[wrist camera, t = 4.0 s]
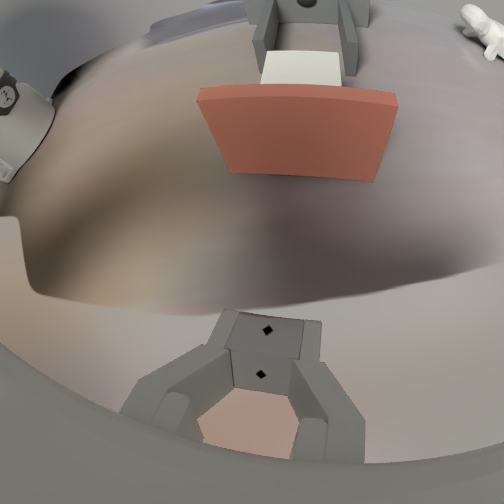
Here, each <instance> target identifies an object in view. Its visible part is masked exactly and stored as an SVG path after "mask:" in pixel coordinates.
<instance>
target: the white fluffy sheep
mask: <svg viewBox="0 0 504 504" xmlns="http://www.w3.org/2000/svg"><path fill="white" fill-rule="evenodd" d="M460 16H461V18H462V19H463V21H464V22H465V24H466V25H467V26H468V27H469V28H466V29H464V30H463V31H462V32H463V34H464V35H465V36H467V37H473V36H475V37H478V38H479V39H480V41H481V42H482V43H483V44H484V45H485V46H486V47H487V49H486V51H485V52H484V57H485V58H486V59H487V60H488V61H493V60H494V59H495V58H496V56H497V55H499V56H501V57H502V58H504V26H503V25H502V24H500V23H498V22H496V21H494V20H492V19H490V18H488V17H487V16H486V14H485V13H484V12H483V11H482V10H481V9H480V8H478V7H477V6H475V5H472V4H467V5H464V7H463V8H462V9H461V13H460Z"/></svg>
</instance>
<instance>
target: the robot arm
mask: <svg viewBox="0 0 504 504" xmlns="http://www.w3.org/2000/svg"><path fill="white" fill-rule="evenodd" d="M54 113H55V110H54V107H53V106H52V99H51V98H50V97H47V98H46V99H45V98H44V97H42V96H41V95H40V94H39V93H37V92H36V91H35V90H34V89H33V88H31V87H30V86H29V85H28V84H26V83H21V84H18V83H16V79H15V78H14V77H13V76H12V74H11V73H9V72H7V71H6V70H4V71H3V70H2V69H1V68H0V181H3V182H6V183H9V182H10V181H11V179H12V178H13V177H14V175H15V174H16V172H17V170H18V169H19V168H20V167H21V166H22V165H23V164H24V163H25V162H26V160H27V159H28V158H29V157H30V156H31V155H32V153H33V152H34V151H35V149H36V148H37V147H38V145H39V144H40V142H41V141H42V139H43V138H44V136H45V134H46V133H47V131H48V129H49V127H50V125H51V123H52V120H53V117H54ZM321 327H322V323H321V321H314V320H305V321H304V320H300V319H291V318H282V317H273V316H266V315H259V314H253V313H247V312H239V311H233V310H227V309H225V310H224V311H223V312H222V313H221V315H220V318H219V320H218V322H217V324H216V326H215V328H214V330H213V332H212V334H211V336H210V338H209V340H208V342H207V344H206V345H203V344H201V345H200V346H198V347H196V348H194V349H193V350H191V351H189V352H187V353H186V354H184V355H182V356H180V357H179V358H177V359H175V360H173V361H172V362H170V363H168V364H166V365H164V366H163V367H161V368H159V369H157V370H155V371H154V372H152V373H150V374H148V375H146V376H144V377H142V378H141V379H139V380H138V382H137V383H136V385H135V387H134V388H133V390H132V392H131V393H130V395H129V397H128V398H127V400H126V401H125V403H124V405H123V406H122V408H121V410H120V411H119V413H117V412H115V411H113V410H110V409H108V408H106V407H104V406H102V405H100V404H98V403H96V402H94V401H91V400H90V399H88V398H86V397H84V396H82V395H80V394H78V393H76V392H74V391H73V390H71V389H69V388H67V387H65V386H64V385H62V384H60V383H59V382H57V381H55V380H53V379H52V378H50V377H49V376H47V375H45V374H44V373H42V372H41V371H39V370H37V369H36V368H34V367H33V366H31V365H30V364H28V363H27V362H26V361H24V360H23V359H21V358H20V357H18V356H17V355H16V354H14V353H13V352H11V351H10V350H9V349H7V348H6V347H5V346H3V345H2V344H1V343H0V504H504V442H502V443H499V444H495V445H492V446H488V447H485V448H481V449H477V450H473V451H468V452H464V453H459V454H454V455H448V456H443V457H437V458H430V459H422V460H414V461H405V462H404V461H403V462H390V463H364V456H365V419H364V418H363V416H362V415H361V414H360V412H359V411H358V409H357V408H356V407H355V405H354V404H353V402H352V401H351V400H350V398H349V397H348V395H347V394H346V392H345V391H344V390H343V389H342V387H341V385H340V384H339V383H338V381H337V380H336V378H335V377H334V376H333V374H332V373H331V371H330V370H329V369H328V367H327V366H326V364H325V363H324V362H319V357H320V342H321ZM301 341H302V342H301ZM234 387H235V388H241V389H247V390H254V391H261V392H266V393H272V394H279V395H285V396H288V399H289V401H290V403H291V405H292V407H293V410H294V412H295V414H296V416H297V418H298V420H299V426H298V429H297V433H296V436H295V440H294V443H293V447H292V450H291V453H290V457H289V459H282V458H274V457H268V456H261V455H255V454H250V453H245V452H240V451H235V450H231V449H226V448H221V447H218V446H213V445H210V444H206V443H202V442H203V439H204V437H203V435H202V432H201V430H200V427H199V424H198V421H197V419H198V418H199V417H200V416H201V415H203V414H204V413H205V412H206V411H208V410H209V409H210V408H211V407H213V406H214V405H215V404H216V403H217V402H219V401H220V400H221V399H222V398H224V397H225V396H226V395H227V394H228V393H229V392H231V391H232V390H233V389H234Z"/></svg>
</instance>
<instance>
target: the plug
mask: <svg viewBox="0 0 504 504" xmlns="http://www.w3.org/2000/svg"><path fill="white" fill-rule="evenodd" d="M196 101H197V103H198V106H199V108H200V110H201V112H202V114H203V116H204V118H205V120H206V122H207V124H208V126H209V128H210V130H211V132H212V134H213V136H214V139H215V141H216V143H217V145H218V147H219V149H220V151H221V153H222V155H223V157H224V159H225V161H226V164H227V166H228V168H229V170H230V172H231V173H254V174H280V175H298V176H313V177H326V178H338V179H348V180H358V181H367V182H373V180H374V177H375V175H376V172H377V169H378V167H379V164H380V161H381V158H382V155H383V152H384V150H385V147H386V144H387V141H388V138H389V135H390V132H391V129H392V126H393V123H394V119H395V116H396V113H397V110H398V103H397V99H396V95H395V93H390V92H384V91H377V90H370V89H362V88H353V87H343V86H342V85H341V74H340V65H339V56H338V53H337V52H322V51H267V54H266V59H265V64H264V68H263V73H262V78H261V83H260V84H247V85H230V86H218V87H208V88H201V89H200V92H199V94H198V97H197V100H196Z"/></svg>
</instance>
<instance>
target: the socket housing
mask: <svg viewBox="0 0 504 504" xmlns="http://www.w3.org/2000/svg"><path fill="white" fill-rule="evenodd" d="M243 2H244V5H245V9H246V13H247V17H248V21H249V24H257V27H256V30H255V33H254V36H253V40H252V41H253V46H254V50H255V54H256V58H257V62H258V67H259V71H260V73H263V68H264V64H265V59H266V54H267V51H274V48H275V43H276V37H277V32H278V27H279V23H327V24H338V28H339V33H340V39H341V46H342V52H343V59H344V67H345V75H348V76H356V69H357V58H358V46H359V42H358V38H357V34H356V31H355V27H354V26H360V27H367V28H368V21H369V6H370V0H243Z"/></svg>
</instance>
